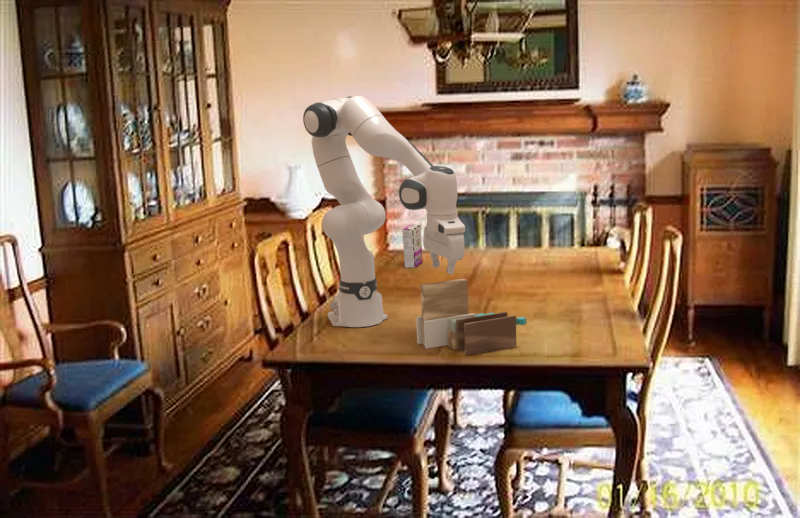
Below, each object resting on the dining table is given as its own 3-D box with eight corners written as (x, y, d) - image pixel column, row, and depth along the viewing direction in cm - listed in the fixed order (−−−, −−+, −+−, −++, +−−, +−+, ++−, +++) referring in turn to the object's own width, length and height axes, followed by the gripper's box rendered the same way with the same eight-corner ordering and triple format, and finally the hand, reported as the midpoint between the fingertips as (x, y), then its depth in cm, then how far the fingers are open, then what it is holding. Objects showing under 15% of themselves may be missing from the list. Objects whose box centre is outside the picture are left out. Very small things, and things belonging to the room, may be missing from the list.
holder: (417, 343, 271) (416, 317, 269) (465, 335, 277) (464, 309, 275) (426, 348, 265) (425, 321, 263) (475, 340, 271) (474, 314, 269)
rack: (457, 350, 262) (456, 319, 260) (506, 341, 268) (505, 311, 266) (466, 355, 257) (465, 324, 255) (516, 346, 263) (515, 316, 261)
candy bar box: (411, 262, 389) (409, 224, 385) (422, 262, 387) (421, 224, 384) (403, 268, 378) (401, 228, 375) (415, 268, 377) (413, 228, 373)
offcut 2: (448, 346, 266) (448, 330, 265) (467, 343, 268) (466, 327, 267) (454, 350, 263) (454, 333, 262) (473, 346, 265) (472, 330, 264)
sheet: (423, 344, 269) (420, 284, 266) (465, 337, 275) (463, 278, 271) (426, 346, 267) (423, 286, 264) (469, 339, 272) (467, 280, 269)
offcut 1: (449, 329, 266) (449, 319, 265) (466, 327, 267) (466, 317, 266) (453, 332, 262) (453, 322, 261) (470, 330, 263) (470, 320, 263)
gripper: (417, 219, 272) (418, 264, 275) (447, 229, 254) (448, 278, 256) (436, 217, 274) (437, 262, 277) (468, 227, 256) (468, 275, 259)
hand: (443, 270), depth 267 cm, fingers open, 8 cm apart
